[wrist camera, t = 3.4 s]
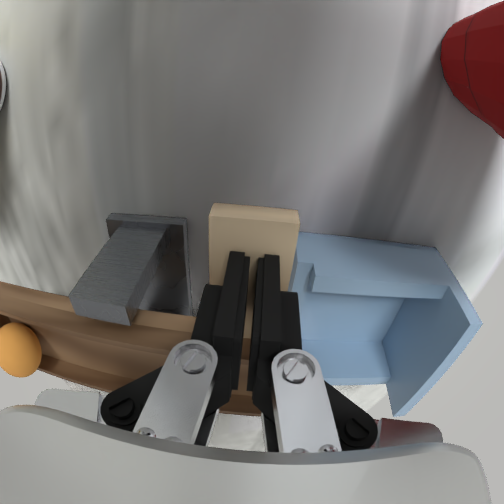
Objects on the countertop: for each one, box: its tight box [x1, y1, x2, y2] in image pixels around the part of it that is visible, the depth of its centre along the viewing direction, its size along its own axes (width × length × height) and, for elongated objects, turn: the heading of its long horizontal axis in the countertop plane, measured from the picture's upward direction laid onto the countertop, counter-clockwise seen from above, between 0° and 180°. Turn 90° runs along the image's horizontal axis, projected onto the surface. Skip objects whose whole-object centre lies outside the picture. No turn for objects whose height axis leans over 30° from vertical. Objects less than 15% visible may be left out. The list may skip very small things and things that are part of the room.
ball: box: [0, 322, 42, 377], centre depth 13 cm, size 4×4×4 cm
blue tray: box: [288, 232, 483, 417], centre depth 17 cm, size 10×10×7 cm
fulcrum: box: [68, 213, 193, 326], centre depth 17 cm, size 10×5×7 cm, turn 176°
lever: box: [0, 203, 300, 416], centre depth 13 cm, size 13×18×3 cm
